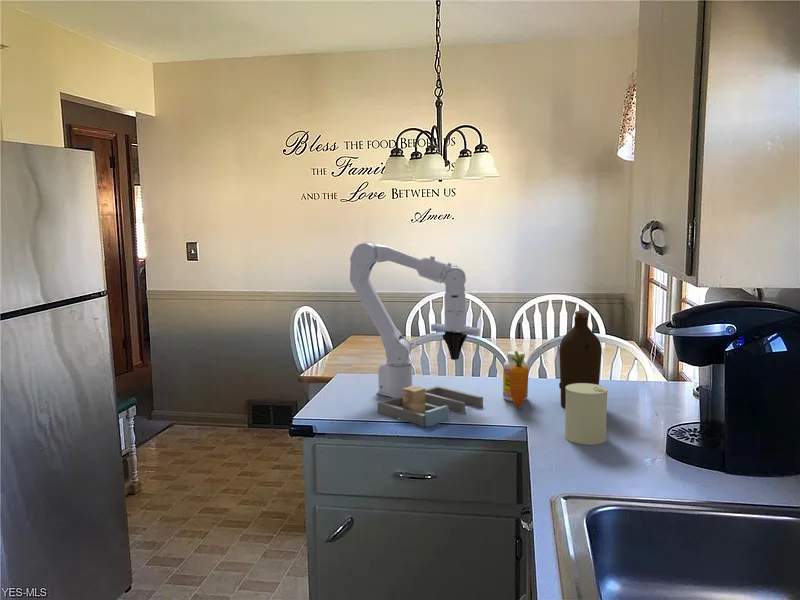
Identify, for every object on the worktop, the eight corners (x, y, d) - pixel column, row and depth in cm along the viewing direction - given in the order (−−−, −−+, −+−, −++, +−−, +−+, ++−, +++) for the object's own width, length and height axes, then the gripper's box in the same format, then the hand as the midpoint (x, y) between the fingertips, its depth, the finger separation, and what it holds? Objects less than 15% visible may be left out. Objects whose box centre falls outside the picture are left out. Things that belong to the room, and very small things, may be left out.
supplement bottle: (500, 400, 178) (500, 354, 176) (506, 394, 184) (506, 349, 183) (525, 403, 176) (525, 356, 174) (529, 396, 182) (530, 351, 180)
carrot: (527, 411, 168) (528, 354, 166) (508, 410, 169) (508, 353, 167) (528, 406, 173) (528, 350, 171) (508, 405, 174) (509, 349, 172)
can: (600, 447, 142) (601, 393, 140) (558, 440, 147) (559, 388, 145) (611, 435, 150) (612, 384, 148) (571, 428, 155) (572, 379, 153)
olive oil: (608, 407, 171) (611, 312, 168) (580, 414, 165) (583, 316, 162) (577, 398, 180) (579, 307, 177) (549, 404, 174) (551, 311, 171)
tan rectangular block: (403, 415, 166) (402, 388, 165) (414, 412, 169) (413, 385, 168) (414, 418, 163) (414, 391, 162) (425, 415, 166) (425, 388, 165)
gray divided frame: (377, 412, 169) (377, 398, 169) (437, 394, 185) (437, 382, 184) (426, 427, 157) (426, 413, 156) (486, 407, 172) (486, 394, 172)
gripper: (424, 310, 182) (425, 358, 183) (470, 314, 173) (470, 365, 175) (438, 307, 187) (438, 354, 189) (483, 311, 179) (483, 360, 181)
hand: (454, 359), depth 182 cm, fingers closed
